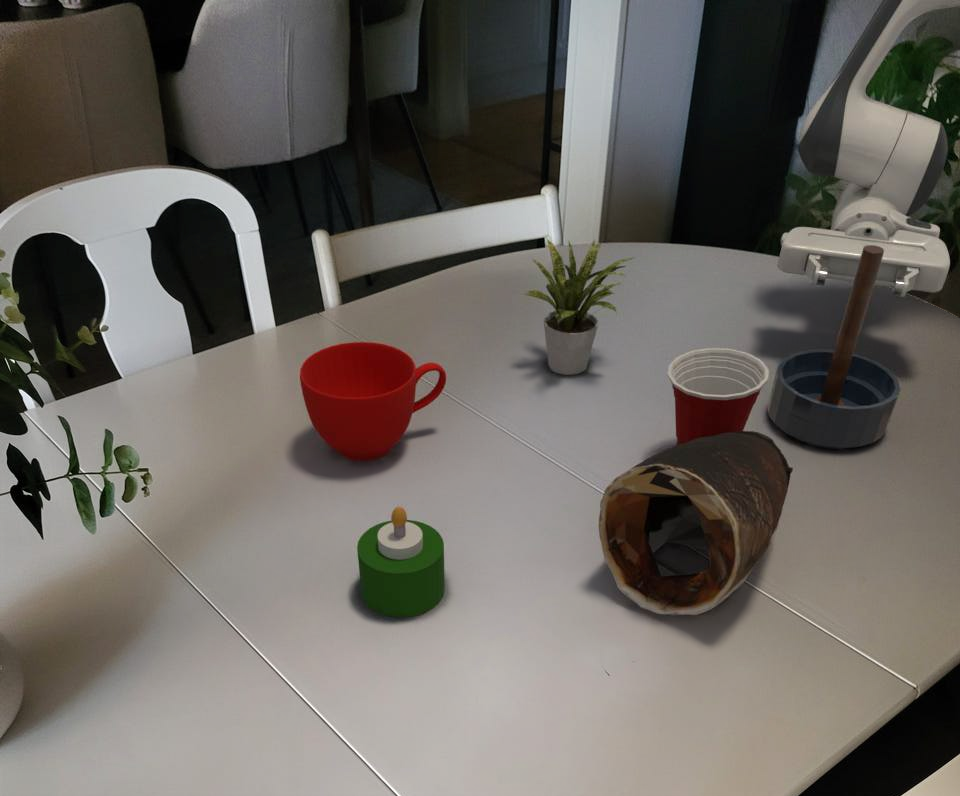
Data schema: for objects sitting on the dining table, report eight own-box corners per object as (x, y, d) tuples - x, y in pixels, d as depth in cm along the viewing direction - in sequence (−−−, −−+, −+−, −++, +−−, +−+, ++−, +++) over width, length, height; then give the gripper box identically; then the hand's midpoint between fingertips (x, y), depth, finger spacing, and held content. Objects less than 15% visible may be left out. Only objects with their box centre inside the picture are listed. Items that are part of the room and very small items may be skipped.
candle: (343, 591, 96) (334, 509, 90) (401, 552, 101) (396, 471, 94) (404, 629, 93) (400, 546, 86) (461, 586, 97) (461, 504, 90)
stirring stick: (834, 406, 122) (883, 241, 108) (847, 423, 119) (899, 255, 105) (803, 408, 121) (849, 242, 107) (815, 425, 119) (863, 257, 104)
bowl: (857, 390, 126) (870, 347, 122) (904, 449, 116) (920, 405, 112) (751, 395, 125) (761, 352, 121) (790, 456, 115) (802, 411, 111)
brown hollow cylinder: (845, 410, 100) (756, 482, 82) (816, 546, 108) (729, 639, 90) (709, 385, 107) (600, 447, 89) (691, 514, 115) (588, 595, 97)
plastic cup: (649, 435, 118) (663, 343, 110) (739, 437, 118) (759, 345, 109) (658, 487, 110) (674, 392, 102) (754, 489, 110) (778, 394, 102)
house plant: (619, 402, 123) (635, 276, 112) (511, 391, 125) (516, 266, 114) (626, 349, 134) (641, 229, 122) (526, 340, 135) (532, 220, 124)
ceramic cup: (466, 456, 114) (466, 378, 107) (326, 486, 109) (317, 408, 102) (427, 402, 123) (425, 328, 116) (296, 429, 118) (286, 353, 111)
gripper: (788, 207, 128) (778, 247, 118) (953, 227, 123) (956, 270, 114) (777, 255, 132) (766, 297, 122) (936, 276, 128) (938, 321, 118)
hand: (859, 284), depth 118 cm, fingers open, 8 cm apart
